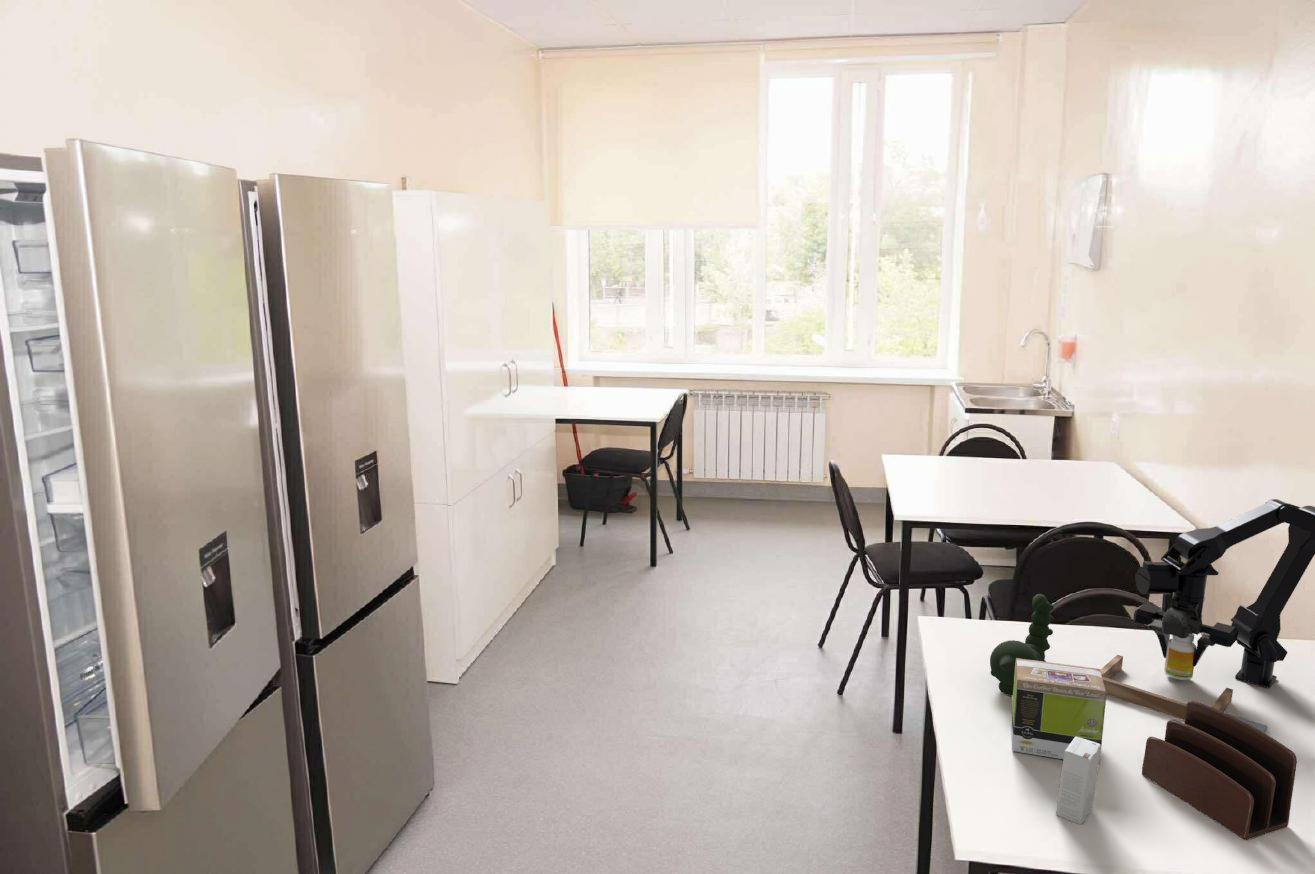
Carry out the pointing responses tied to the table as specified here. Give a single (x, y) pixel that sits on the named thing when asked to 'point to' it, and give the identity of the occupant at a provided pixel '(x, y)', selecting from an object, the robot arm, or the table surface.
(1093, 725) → the tea box
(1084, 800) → the skincare box
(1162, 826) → the table surface
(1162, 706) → the walnut stall
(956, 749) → the table surface
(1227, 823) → the letter holder
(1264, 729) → the slate mat
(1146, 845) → the table surface
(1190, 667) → the supplement bottle
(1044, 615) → the toy figurine
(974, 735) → the table surface
